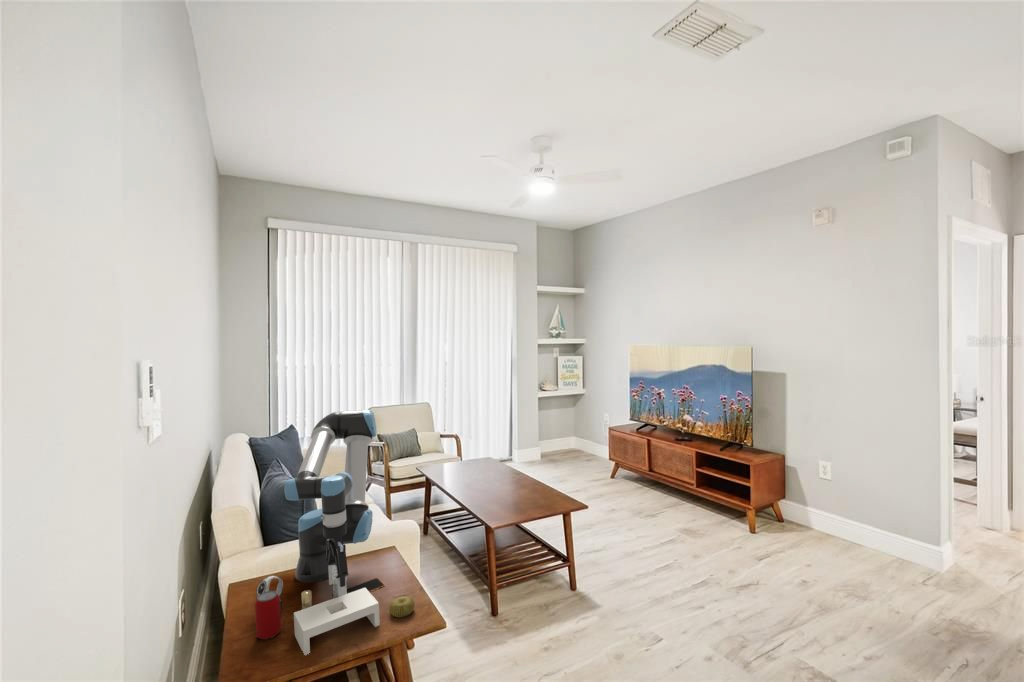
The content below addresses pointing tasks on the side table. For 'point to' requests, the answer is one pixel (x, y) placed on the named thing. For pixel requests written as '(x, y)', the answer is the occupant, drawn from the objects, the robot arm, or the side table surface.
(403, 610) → the sculpture
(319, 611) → the white bench
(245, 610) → the side table surface
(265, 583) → the watch
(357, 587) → the smartphone
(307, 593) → the short brass pin
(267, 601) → the beverage can
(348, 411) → the robot arm
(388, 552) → the side table surface
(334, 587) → the tall steel pin
